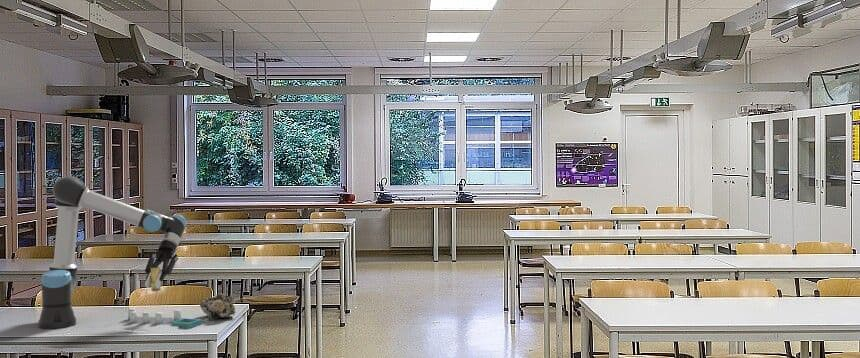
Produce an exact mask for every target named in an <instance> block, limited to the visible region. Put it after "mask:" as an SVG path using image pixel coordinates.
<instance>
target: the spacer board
mask: <svg viewBox="0 0 860 358" xmlns="http://www.w3.org/2000/svg"><path fill="white" fill-rule="evenodd" d="M154 314H155V315H154V316H153V317H151V313H150V311H145V312H142V316H138V311H136V308H128V309H127V315H128V316H127V317H128V319H124V320H123V321H122V320H121V321H119V322H118V324H131V325H132V324H133V325H139V324H140V325H164V326H169V325H171V322H174V321H177V320H180V319H184V317H183V318H182V309H174V310H173V317H164V313H163V312H162V311H159V312H155V313H154ZM171 326H172V325H171Z"/></svg>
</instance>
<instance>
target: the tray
mask: <svg viewBox="0 0 860 358" xmlns="http://www.w3.org/2000/svg"><path fill="white" fill-rule="evenodd" d="M183 318H184V317H183ZM202 322H203V319H200V318H187V317H185V318H184V319H180V320H177V321H174V322H171V326H175V327H179V329H191V328H195V327H197V326H201V325H203V323H202Z"/></svg>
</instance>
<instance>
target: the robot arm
mask: <svg viewBox="0 0 860 358" xmlns="http://www.w3.org/2000/svg"><path fill="white" fill-rule="evenodd" d="M52 194H53V197H54V206H55V208H57V219H56V231H55V241H54V242H55V244H54V254H53V255H54V256H53V262H52V263H51V264H50V265H49V267H48V268H49V269H48V270H49V271H45V272H44V273H43V274H42V275H41V282H40V283H41V296H42V297H41V301H42V302H41V307H42V308H41V309H42V310H41V313H40V317H39V320H38V321H37V322H38V324H37V325H38V326H39V327H38V326H37V327H38V328H40V327H41V329H61V328H67V327H72V326H74V325H76V324H77V317H76V316H75V312H74V310H73V307H72V306H73V305H72V293H73V292H74V291H75V290H76V288H77V286H78V284H79V279H78V265H77V264H76V263H75V257H76V248H77V246H76V245H77V236H78V223H79V212H80V210H81V209H82V208H87V209H89V210H92V211H94V212H97V213H101V214H103V215H106V216H108V217H111V218H114V219H117V220H119V221H122V222H125V223H128V224H130V225H132V226H136V227H139V228H141V229H144V230H145V231H147V232H149V233H155V232H157V231H159V232H162V233H164V235H163V236H162V239H161V241H160V243H159V246H158V249H157V251H156V252H155V253H154V254H152V253H150V254H149V256H148V257H149V259H148V261H147V263H146V266H145V269H144V272H145V273H146V277H145V280H146V281H145V283H144V286H145V287H146V288H147V289H150V287H151V268H153V267H159V265H161V264H162V269H161V270H160V273H159V275H158V278H157V280H156V282H155V286H156V288H159V286H160V283H161V282H163V281H164V280H165V277H166V276H167V275H168V276H170V275H171V273H172V272H173V270H174V267H175V265H176V262H177V261H178V260H179V256H178V254H177V253H176V251H177V249H178V246H179V243H180V241H181V238H182V236H183V235H184V231H185V229H186V226H187V219H186V217H184V216H183V215H181V214H173V215H172V216H168V215H163V214H161V213H159V212H156V211H154V210H150V209H145V210H143V209H141V208H138V207H135V206H132V205H130V204H127V203H125V202H122V201H119V200H116V199H114V198H111V197H109V196H105V195H103V194H101V193H98V192H95V191H92V190H90V189H89V187H88V186H86V184H85V183H84V182H83V180H82V179H81V178H78V177H76V176H73V175H71V176H69V175H68V176H65V177H62V178H59V179H57V180H55V183H54V184H53V185H52Z"/></svg>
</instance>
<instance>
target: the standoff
mask: <svg viewBox="0 0 860 358" xmlns="http://www.w3.org/2000/svg"><path fill="white" fill-rule="evenodd" d="M159 273H161V267H159V266H158V267H153V268H151V284H150V290H151V292H159V291H162V290H161V289H162V287H161V286H162V285H161V283H160V286H159V288H156V286H155V282H156V280H157V278H158V275H159Z"/></svg>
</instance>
